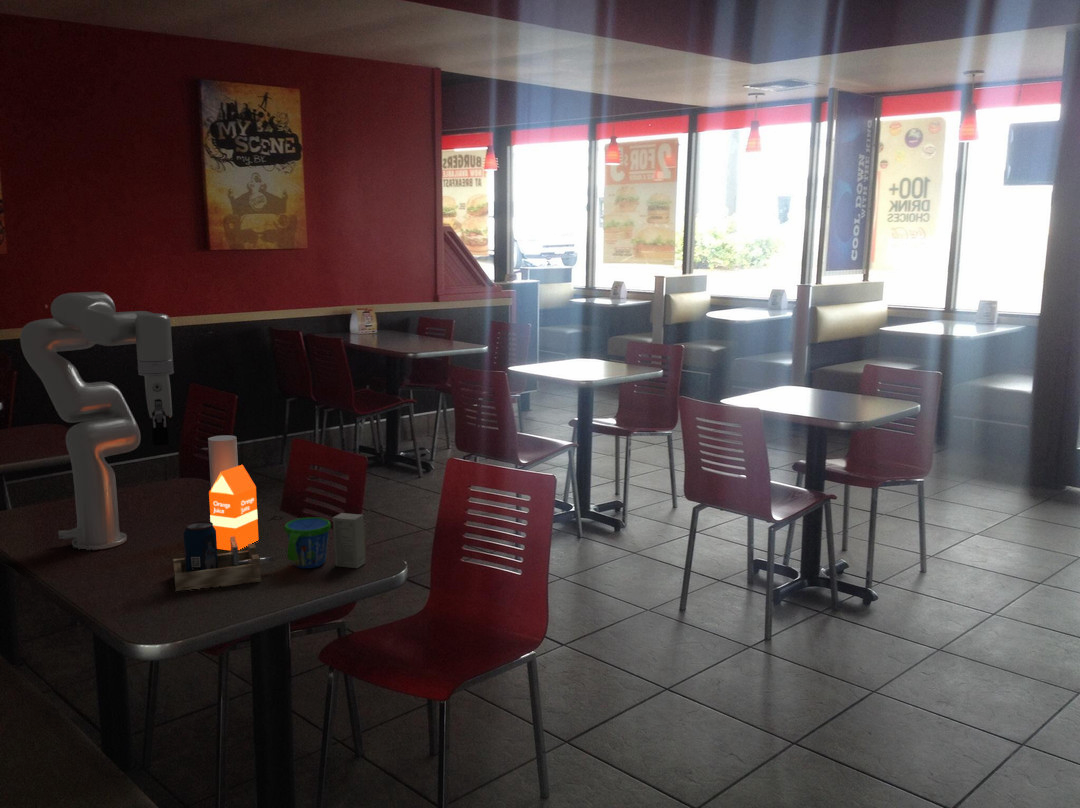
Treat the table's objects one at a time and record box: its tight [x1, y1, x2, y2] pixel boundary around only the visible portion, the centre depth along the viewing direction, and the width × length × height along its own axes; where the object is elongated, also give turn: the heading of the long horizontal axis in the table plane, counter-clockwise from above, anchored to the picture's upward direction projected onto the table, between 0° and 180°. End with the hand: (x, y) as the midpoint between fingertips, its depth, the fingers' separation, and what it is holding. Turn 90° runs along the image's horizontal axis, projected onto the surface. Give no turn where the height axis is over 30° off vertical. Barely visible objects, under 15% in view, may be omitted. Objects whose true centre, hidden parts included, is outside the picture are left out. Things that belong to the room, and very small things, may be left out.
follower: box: [230, 536, 274, 566], centre depth 214 cm, size 9×8×7 cm
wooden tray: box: [172, 543, 262, 592], centre depth 211 cm, size 18×12×6 cm, turn 113°
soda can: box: [183, 520, 218, 572], centre depth 210 cm, size 7×7×12 cm
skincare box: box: [332, 512, 367, 569], centre depth 220 cm, size 6×4×12 cm
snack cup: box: [283, 516, 332, 569], centre depth 221 cm, size 16×10×10 cm
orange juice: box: [208, 464, 259, 552], centre depth 234 cm, size 8×9×20 cm
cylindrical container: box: [207, 434, 239, 490], centre depth 246 cm, size 7×7×25 cm
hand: (160, 440), depth 216 cm, fingers open, 9 cm apart
